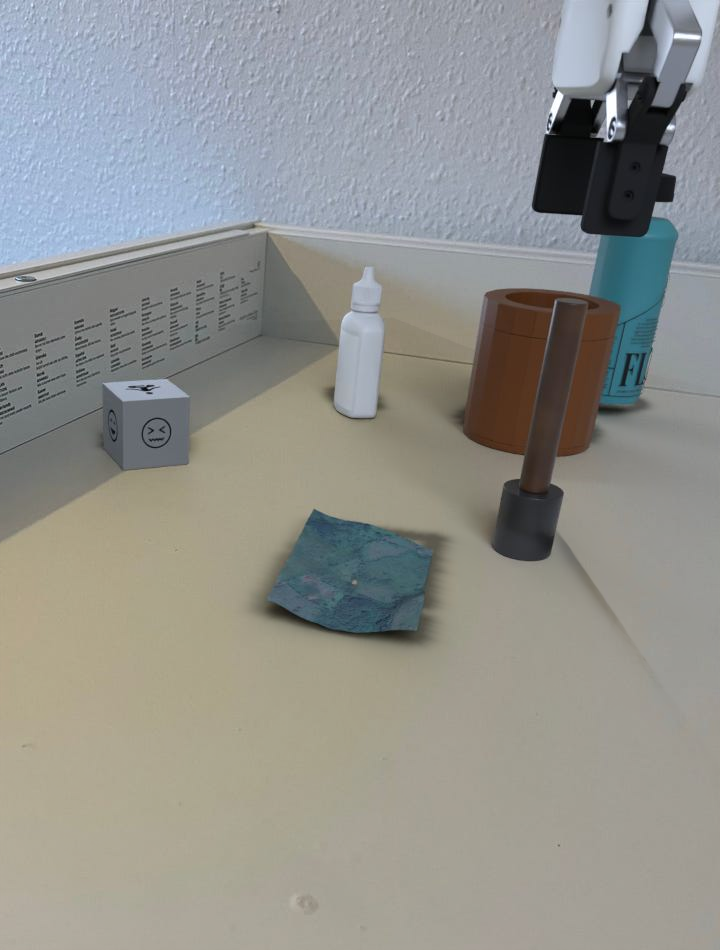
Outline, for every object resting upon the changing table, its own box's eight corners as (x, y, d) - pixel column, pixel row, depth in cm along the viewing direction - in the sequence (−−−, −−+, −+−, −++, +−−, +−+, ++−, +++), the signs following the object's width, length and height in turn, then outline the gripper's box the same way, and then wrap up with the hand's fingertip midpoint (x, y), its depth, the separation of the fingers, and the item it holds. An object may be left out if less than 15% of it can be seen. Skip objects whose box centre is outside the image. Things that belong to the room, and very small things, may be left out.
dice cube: (165, 443, 77) (166, 378, 74) (188, 464, 73) (190, 396, 70) (103, 448, 75) (102, 382, 73) (123, 470, 71) (122, 401, 69)
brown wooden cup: (569, 421, 88) (597, 292, 82) (606, 459, 78) (640, 317, 73) (453, 415, 87) (473, 285, 82) (475, 453, 78) (500, 309, 73)
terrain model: (310, 533, 62) (314, 505, 61) (434, 557, 60) (439, 529, 60) (262, 627, 51) (265, 595, 50) (411, 658, 50) (418, 626, 49)
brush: (542, 538, 64) (594, 296, 56) (557, 562, 60) (614, 308, 53) (486, 536, 64) (531, 293, 56) (498, 559, 60) (547, 305, 53)
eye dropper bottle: (322, 415, 85) (335, 269, 80) (337, 399, 90) (351, 260, 84) (372, 422, 84) (389, 274, 78) (384, 406, 89) (401, 265, 83)
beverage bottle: (613, 426, 87) (672, 176, 77) (548, 407, 91) (596, 168, 81) (650, 414, 91) (711, 175, 81) (586, 397, 95) (637, 168, 85)
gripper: (854, -238, 37) (719, 250, 45) (680, -141, 52) (603, 211, 60) (655, -252, 37) (556, 240, 45) (538, -151, 52) (481, 203, 60)
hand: (583, 223), depth 53 cm, fingers open, 9 cm apart
